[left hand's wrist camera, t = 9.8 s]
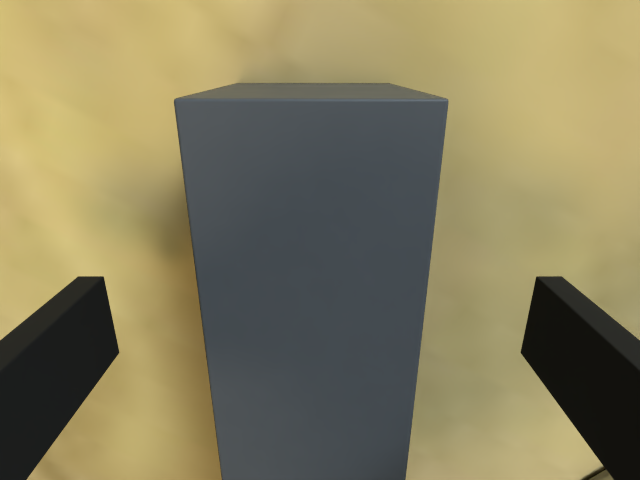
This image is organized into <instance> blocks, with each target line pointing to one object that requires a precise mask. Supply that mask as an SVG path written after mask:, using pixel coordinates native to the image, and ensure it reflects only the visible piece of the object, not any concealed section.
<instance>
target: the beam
mask: <svg viewBox="0 0 640 480" xmlns="http://www.w3.org/2000/svg"><path fill="white" fill-rule="evenodd" d="M174 106H175V114H176V121H177V129H178V137H179V145H180V153H181V161H182V169H183V176H184V184H185V192H186V200H187V208H188V216H189V224H190V231H191V239H192V247H193V255H194V263H195V271H196V279H197V286H198V294H199V302H200V310H201V318H202V326H203V334H204V341H205V349H206V357H207V365H208V373H209V381H210V389H211V396H212V404H213V412H214V420H215V428H216V436H217V444H218V451H219V459H220V467H221V475H222V480H405V478H406V469H407V460H408V452H409V443H410V434H411V425H412V417H413V408H414V399H415V390H416V382H417V373H418V364H419V355H420V347H421V338H422V329H423V320H424V311H425V303H426V294H427V285H428V276H429V268H430V259H431V250H432V241H433V233H434V224H435V215H436V206H437V198H438V189H439V180H440V171H441V163H442V154H443V145H444V136H445V128H446V119H447V110H448V99H446V98H442V97H439V96H435V95H431V94H427V93H423V92H420V91H416V90H412V89H408V88H405V87H401V86H397V85H393V84H390V83H236V84H232V85H228V86H224V87H220V88H216V89H212V90H208V91H204V92H200V93H196V94H192V95H188V96H184V97H180V98H176V99H175V100H174Z"/></svg>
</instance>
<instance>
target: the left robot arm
mask: <svg viewBox="0 0 640 480" xmlns="http://www.w3.org/2000/svg"><path fill="white" fill-rule="evenodd" d="M118 354H119V349H118V344H117V339H116V334H115V330H114V325H113V320H112V315H111V310H110V305H109V300H108V296H107V291H106V286H105V281H104V277H77V278H76V279H75V280H74V281H72V282H71V283H70V284H69V285H67V286H66V287H65V288H64V289H63V290H61V291H60V292H59V293H58V294H56V295H55V296H54V297H53V298H52V299H50V300H49V301H48V302H47V303H45V304H44V305H43V306H42V307H41V308H39V309H38V310H37V311H36V312H35V313H33V314H32V315H31V316H30V317H28V318H27V319H26V320H25V321H24V322H22V323H21V324H20V325H19V326H17V327H16V328H15V329H14V330H13V331H11V332H10V333H9V334H8V335H6V336H5V337H4V338H3V339H2V340H0V480H26V479H27V478H28V477H29V475H30V474H31V473H32V471H33V470H34V468H35V467H36V466H37V464H38V463H39V462H40V460H41V459H42V457H43V456H44V455H45V453H46V452H47V451H48V449H49V448H50V447H51V445H52V444H53V442H54V441H55V440H56V438H57V437H58V436H59V434H60V433H61V432H62V430H63V429H64V427H65V426H66V425H67V423H68V422H69V421H70V419H71V418H72V416H73V415H74V414H75V412H76V411H77V410H78V408H79V407H80V406H81V404H82V403H83V401H84V400H85V399H86V397H87V396H88V395H89V393H90V392H91V391H92V389H93V388H94V386H95V385H96V384H97V382H98V381H99V380H100V378H101V377H102V376H103V374H104V373H105V371H106V370H107V369H108V367H109V366H110V365H111V363H112V362H113V360H114V359H115V358H116V356H117V355H118ZM521 354H522V355H523V356H524V358H525V359H526V360H527V362H528V363H529V365H530V366H531V367H532V369H533V370H534V371H535V373H536V374H537V376H538V377H539V378H540V380H541V381H542V382H543V384H544V385H545V386H546V388H547V389H548V391H549V392H550V393H551V395H552V396H553V397H554V399H555V400H556V401H557V403H558V404H559V406H560V407H561V408H562V410H563V411H564V412H565V414H566V415H567V416H568V418H569V419H570V421H571V422H572V423H573V425H574V426H575V427H576V429H577V430H578V432H579V433H580V434H581V436H582V437H583V438H584V440H585V441H586V442H587V444H588V445H589V447H590V448H591V449H592V451H593V452H594V453H595V455H596V456H597V457H598V459H599V460H600V462H601V463H602V464H603V466H604V467H605V468H606V470H604V471H603V472H601V473H599V474H597V475H595V476H594V477H592V478H591V479H589V480H640V340H638V339H637V338H636V337H635V336H634V335H632V334H631V333H630V332H629V331H627V330H626V329H625V328H624V327H623V326H621V325H620V324H619V323H618V322H616V321H615V320H614V319H613V318H612V317H610V316H609V315H608V314H607V313H605V312H604V311H603V310H602V309H601V308H599V307H598V306H597V305H596V304H595V303H593V302H592V301H591V300H590V299H588V298H587V297H586V296H585V295H584V294H582V293H581V292H580V291H579V290H577V289H576V288H575V287H574V286H573V285H571V284H570V283H569V282H568V281H566V280H565V279H564V278H563V277H536V281H535V286H534V291H533V296H532V300H531V305H530V310H529V315H528V320H527V325H526V330H525V334H524V339H523V344H522V349H521Z"/></svg>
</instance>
